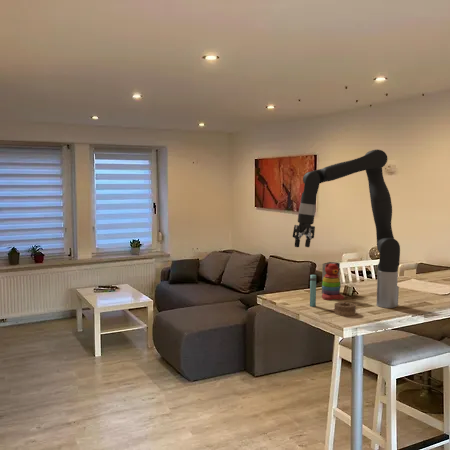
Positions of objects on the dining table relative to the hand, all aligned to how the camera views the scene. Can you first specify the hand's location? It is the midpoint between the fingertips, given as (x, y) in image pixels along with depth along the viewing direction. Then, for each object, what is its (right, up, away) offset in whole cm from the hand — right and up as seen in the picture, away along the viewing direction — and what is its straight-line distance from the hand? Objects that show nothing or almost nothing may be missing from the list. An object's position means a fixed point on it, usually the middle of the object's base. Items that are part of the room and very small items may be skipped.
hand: (302, 247), depth 227 cm
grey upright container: (+20, -26, +30) cm, 45 cm away
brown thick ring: (+18, -30, -11) cm, 36 cm away
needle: (+6, -29, +2) cm, 29 cm away
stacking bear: (+18, -27, +19) cm, 38 cm away
